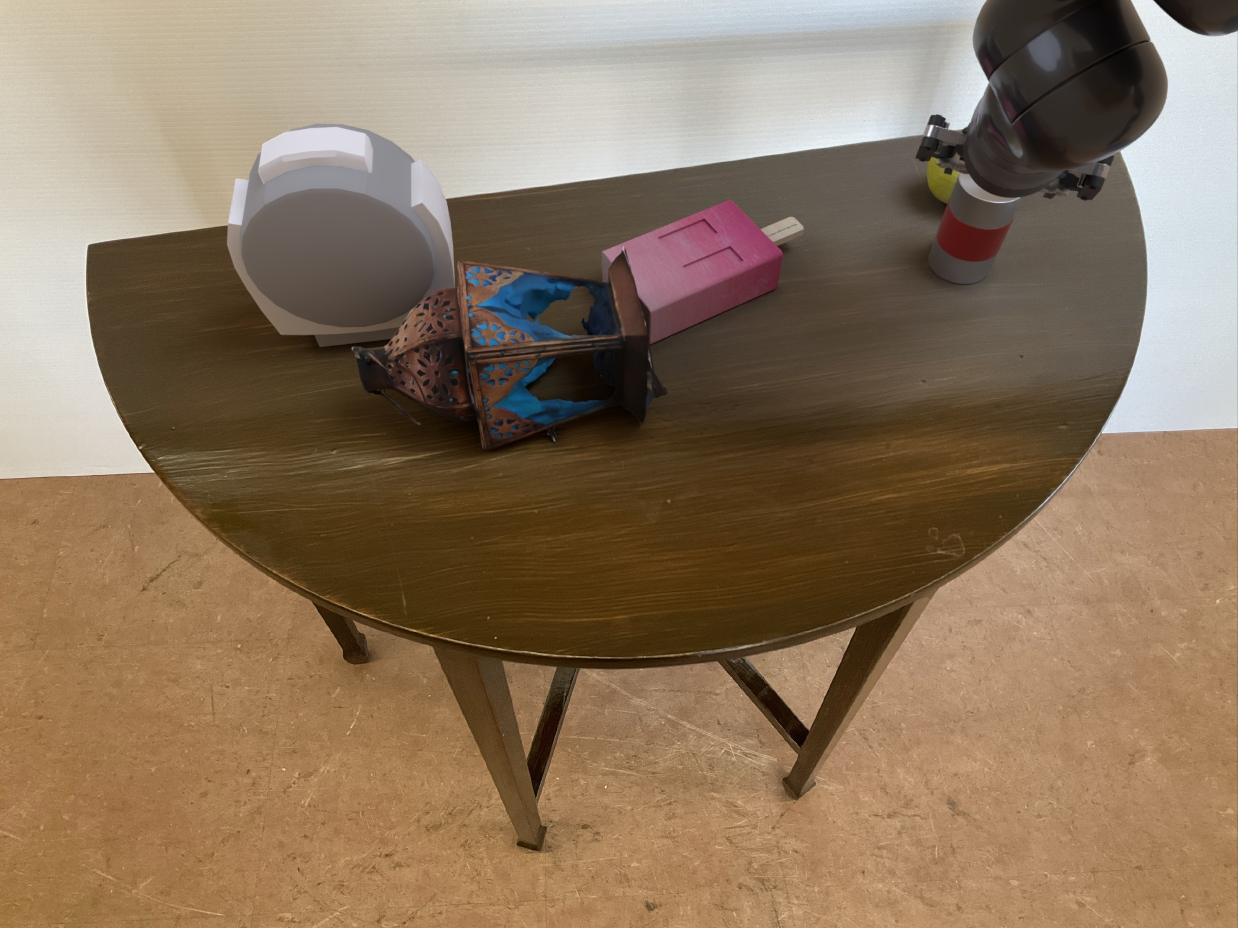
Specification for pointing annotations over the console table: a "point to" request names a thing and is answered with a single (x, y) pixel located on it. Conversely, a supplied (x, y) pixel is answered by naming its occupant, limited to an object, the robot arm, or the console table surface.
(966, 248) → the can
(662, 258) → the popsicle
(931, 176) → the fruit
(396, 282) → the alarm clock
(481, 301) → the lantern
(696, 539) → the console table surface
